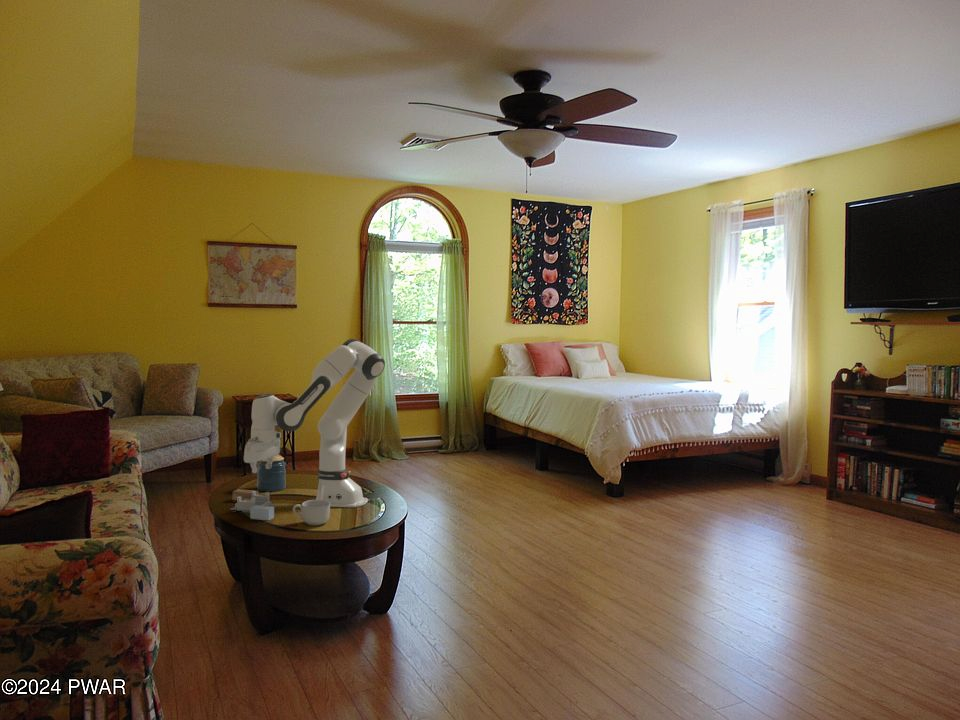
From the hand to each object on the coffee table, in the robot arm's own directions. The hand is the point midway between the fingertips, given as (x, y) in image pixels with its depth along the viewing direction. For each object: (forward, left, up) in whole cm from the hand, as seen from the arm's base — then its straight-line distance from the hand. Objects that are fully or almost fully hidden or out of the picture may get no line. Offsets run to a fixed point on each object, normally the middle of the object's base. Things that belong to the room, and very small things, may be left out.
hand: (261, 470), depth 262 cm
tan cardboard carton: (+21, -21, -19) cm, 35 cm away
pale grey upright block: (-1, +1, -19) cm, 19 cm away
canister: (+23, -45, -19) cm, 54 cm away
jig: (+10, -10, -19) cm, 24 cm away
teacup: (-23, +2, -19) cm, 30 cm away
